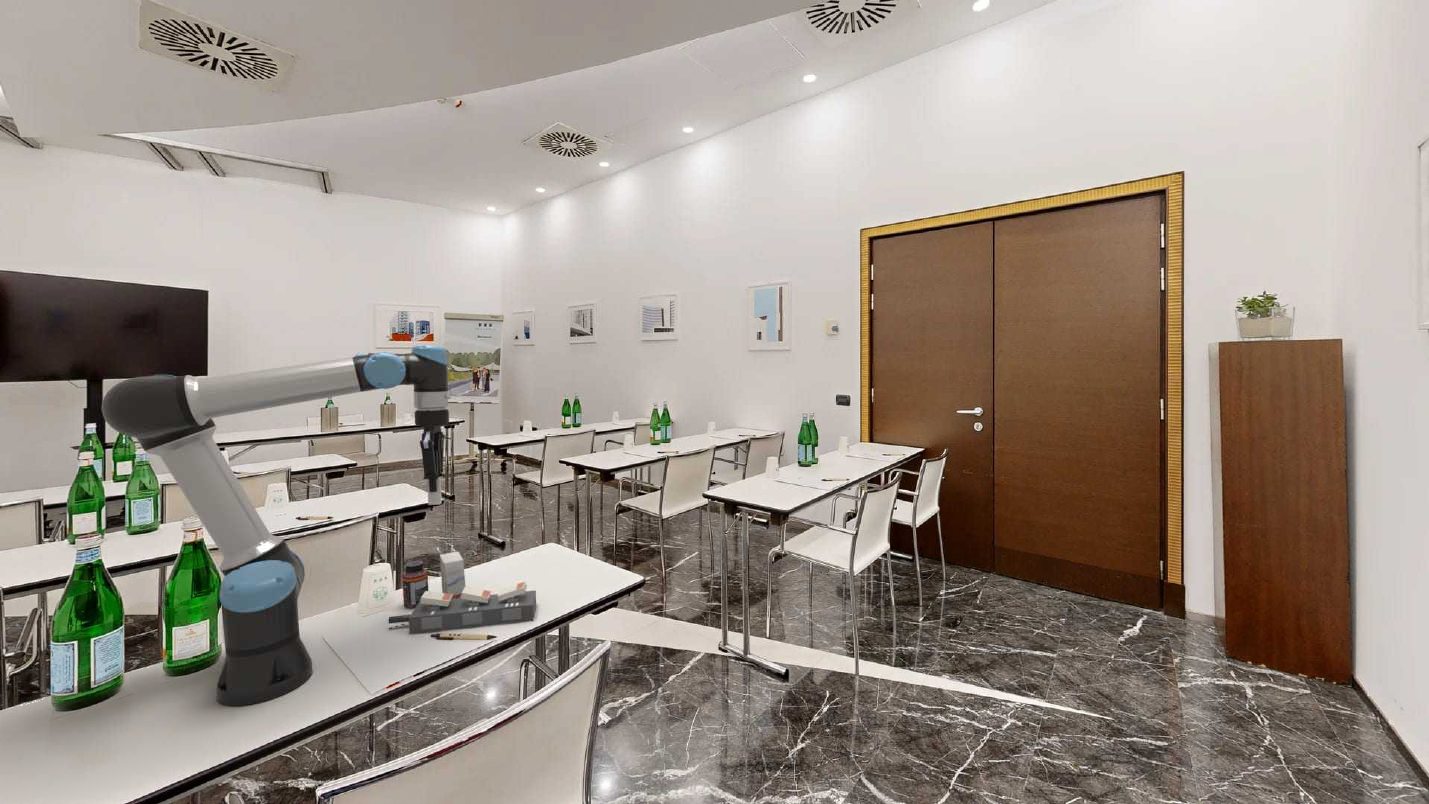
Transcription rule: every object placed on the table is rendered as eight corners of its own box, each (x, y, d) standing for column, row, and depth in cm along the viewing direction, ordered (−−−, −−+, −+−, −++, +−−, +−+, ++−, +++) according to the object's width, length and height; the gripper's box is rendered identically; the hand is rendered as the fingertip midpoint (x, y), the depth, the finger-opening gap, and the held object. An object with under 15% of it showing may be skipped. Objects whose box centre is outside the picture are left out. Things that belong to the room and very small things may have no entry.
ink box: (467, 602, 151) (465, 559, 151) (446, 607, 149) (444, 563, 148) (461, 591, 159) (459, 550, 158) (441, 596, 156) (439, 554, 155)
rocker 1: (419, 604, 137) (421, 597, 137) (424, 597, 141) (425, 590, 141) (447, 608, 138) (449, 600, 138) (451, 601, 142) (453, 593, 142)
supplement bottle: (401, 604, 151) (398, 562, 150) (425, 597, 155) (423, 557, 154) (407, 611, 147) (404, 568, 146) (432, 604, 150) (429, 563, 150)
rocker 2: (459, 600, 139) (461, 592, 139) (463, 593, 143) (465, 585, 143) (486, 605, 140) (488, 597, 140) (489, 598, 144) (491, 590, 144)
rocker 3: (499, 602, 141) (497, 595, 141) (502, 596, 145) (499, 589, 145) (525, 594, 142) (523, 587, 142) (527, 587, 146) (525, 580, 146)
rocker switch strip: (383, 637, 133) (382, 616, 133) (395, 619, 142) (394, 600, 142) (533, 620, 140) (532, 601, 140) (536, 605, 149) (535, 586, 149)
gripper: (441, 410, 134) (444, 509, 135) (454, 406, 146) (457, 497, 148) (406, 411, 132) (410, 511, 134) (422, 407, 145) (426, 498, 146)
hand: (435, 503), depth 141 cm, fingers closed
